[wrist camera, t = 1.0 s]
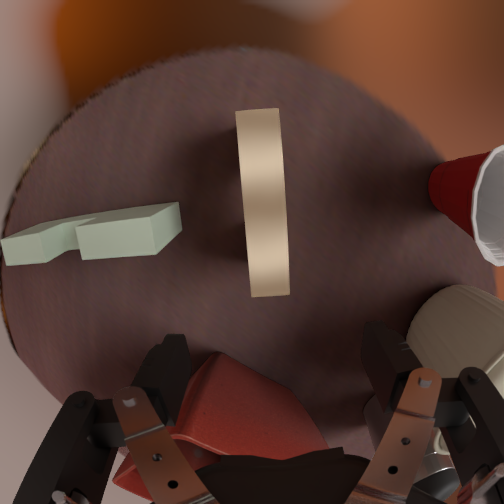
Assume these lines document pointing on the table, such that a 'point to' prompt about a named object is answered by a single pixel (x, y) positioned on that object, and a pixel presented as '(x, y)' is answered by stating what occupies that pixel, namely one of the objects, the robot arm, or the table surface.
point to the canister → (459, 337)
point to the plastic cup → (474, 199)
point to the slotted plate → (264, 200)
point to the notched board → (97, 235)
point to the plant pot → (233, 420)
